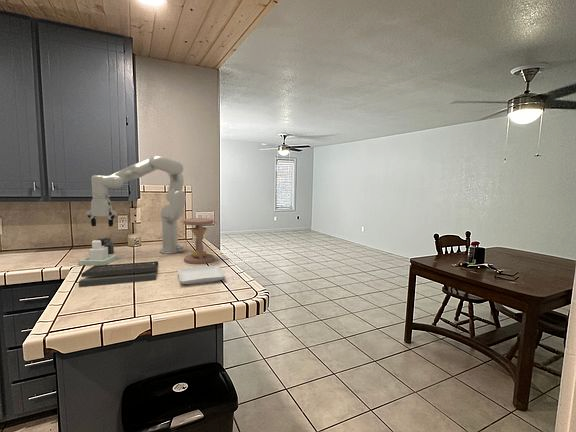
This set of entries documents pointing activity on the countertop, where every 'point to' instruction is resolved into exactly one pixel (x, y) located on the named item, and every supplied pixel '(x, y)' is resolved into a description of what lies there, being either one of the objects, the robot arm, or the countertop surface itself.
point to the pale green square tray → (97, 261)
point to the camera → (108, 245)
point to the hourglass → (198, 241)
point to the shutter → (119, 270)
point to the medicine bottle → (98, 250)
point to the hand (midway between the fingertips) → (102, 226)
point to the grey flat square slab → (200, 274)
